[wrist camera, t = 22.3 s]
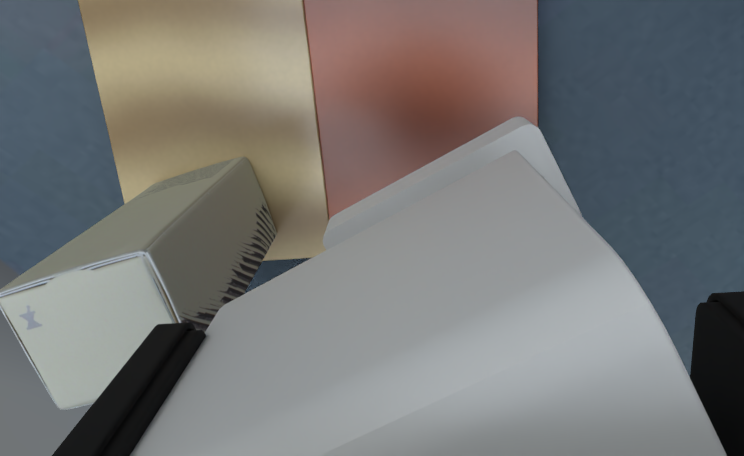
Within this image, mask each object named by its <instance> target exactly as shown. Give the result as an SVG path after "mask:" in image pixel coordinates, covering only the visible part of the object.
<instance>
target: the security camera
mask: <svg viewBox="0 0 744 456" xmlns="http://www.w3.org/2000/svg"><path fill="white" fill-rule="evenodd" d="M323 245H324V247H325V249H326V251H324V252H322V253H320V254H318V255H317V256H315V257H313V258H311V259H309V260H307V261H305V262H303V263H302V264H300V265H298V266H296V267H294V268H292V269H290V270H288V271H287V272H285V273H283V274H281V275H279V276H277V277H275V278H274V279H272V280H270V281H268V282H266V283H264V284H262V285H260V286H259V287H257V288H255V289H253V290H251V291H249V292H247V293H245V294H244V295H242V296H240V297H238V298H236V299H234V300H232V301H230V302H229V303H227V304H225V305H224V306H222V307H221V308H220V309H219V311H218V312H217V314H216V315H215V317H214V319H213V320H212V322H211V324H210V325H209V327H208V328H207V330H206V332H205V334H206V337H205V339H204V340H203V342H202V343H201V345H200V347H199V348H198V350H197V351H196V353H195V354H194V356H193V357H192V359H191V361H190V362H189V364H188V365H187V367H186V368H185V370H184V372H183V373H182V375H181V376H180V378H179V379H178V381H177V382H176V384H175V386H174V387H173V389H172V390H171V392H170V393H169V395H168V397H167V398H166V400H165V401H164V403H163V404H162V406H161V407H160V409H159V411H158V412H157V414H156V415H155V417H154V418H153V420H152V422H151V423H150V425H149V426H148V428H147V429H146V431H145V432H144V434H143V436H142V437H141V439H140V440H139V442H138V443H137V445H136V447H135V448H134V450H133V451H132V453H131V454H130V456H727V455H726V452H725V450H724V448H723V446H722V444H721V442H720V440H719V438H718V436H717V434H716V431H715V429H714V427H713V425H712V423H711V421H710V419H709V417H708V415H707V413H706V411H705V408H704V406H703V404H702V402H701V400H700V398H699V396H698V394H697V392H696V390H695V388H694V385H693V383H692V381H691V379H690V377H689V375H688V373H687V371H686V369H685V367H684V365H683V362H682V360H681V358H680V356H679V354H678V352H677V350H676V348H675V346H674V344H673V342H672V340H671V338H670V336H669V334H668V332H667V330H666V328H665V326H664V325H663V323H662V321H661V319H660V318H659V316H658V314H657V312H656V311H655V309H654V307H653V305H652V304H651V302H650V300H649V299H648V297H647V296H646V294H645V293H644V291H643V289H642V288H641V286H640V285H639V283H638V281H637V280H636V278H635V277H634V276H633V274H632V273H631V271H630V270H629V269H628V267H627V266H626V264H625V263H624V261H623V260H622V259H621V258H620V257H619V255H618V254H617V253H616V252H615V251H614V249H613V248H612V247H611V246H610V245H609V244H608V243H607V242H606V241H605V240H604V239H603V238H602V237H601V236H600V235H599V234H598V233H597V232H596V231H595V230H594V229H593V228H592V227H591V226H590V225H589V224H588V223H587V222H586V221H585V220H584V218H583V217H582V214H581V212H580V210H579V208H578V206H577V204H576V202H575V200H574V198H573V196H572V194H571V192H570V190H569V188H568V186H567V184H566V182H565V180H564V178H563V175H562V173H561V171H560V169H559V167H558V165H557V163H556V161H555V159H554V157H553V155H552V153H551V151H550V149H549V147H548V145H547V143H546V141H545V139H544V137H543V135H542V133H541V131H540V130H539V128H538V127H536V126H535V125H533V124H532V123H531V122H529V121H528V120H526V119H525V118H523V117H514V118H511V119H510V120H508V121H506V122H504V123H502V124H500V125H499V126H497V127H495V128H493V129H491V130H489V131H488V132H486V133H484V134H482V135H480V136H478V137H477V138H475V139H473V140H471V141H469V142H467V143H466V144H464V145H462V146H460V147H458V148H456V149H454V150H453V151H451V152H449V153H447V154H445V155H443V156H442V157H440V158H438V159H436V160H434V161H432V162H431V163H429V164H427V165H425V166H423V167H421V168H420V169H418V170H416V171H414V172H412V173H410V174H409V175H407V176H405V177H403V178H401V179H399V180H398V181H396V182H394V183H392V184H390V185H388V186H387V187H385V188H383V189H381V190H379V191H377V192H376V193H374V194H372V195H370V196H368V197H366V198H365V199H363V200H361V201H359V202H357V203H355V204H353V205H352V206H350V207H348V208H346V209H344V210H342V211H341V212H339V213H337V214H335V215H334V216H332V217H331V218H330V220H329V222H328V225H327V228H326V231H325V234H324V237H323Z"/></svg>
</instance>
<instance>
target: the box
mask: <svg viewBox="0 0 744 456" xmlns="http://www.w3.org/2000/svg"><path fill="white" fill-rule="evenodd" d="M276 235H277V232H276V229H275V226H274V224H273V221H272V218H271V215H270V212H269V209H268V207H267V204H266V201H265V198H264V196H263V193H262V191H261V188H260V186H259V183H258V181H257V178H256V176H255V174H254V171H253V169H252V167H251V164H250V162H249V160H248V159H247V158H246V157H238V158H234V159H231V160H227V161H223V162H220V163H216V164H213V165H210V166H206V167H203V168H200V169H197V170H193V171H190V172H187V173H184V174H181V175H178V176H175V177H172V178H169V179H166V180H163V181H160V182H157V183H155V184H153V185H151V186H150V187H149V188H147V189H146V190H145V191H143V192H142V193H140V194H139V195H137V196H136V197H135V198H133V199H132V200H130V201H129V202H127V203H126V204H125V205H123V206H121V207H120V208H119V209H117V210H116V211H114V212H113V213H111V214H110V215H108V216H107V217H105V218H104V219H102V220H101V221H99V222H98V223H97V224H95V225H94V226H92V227H91V228H89V229H88V230H86V231H85V232H83V233H82V234H80V235H79V236H77V237H76V238H74V239H73V240H71V241H70V242H69V243H67V244H66V245H64V246H63V247H61V248H60V249H58V250H57V251H55V252H54V253H52V254H51V255H49V256H48V257H47V258H45V259H44V260H42V261H41V262H39V263H38V264H36V265H35V266H34V267H32V268H31V269H29V270H28V271H26V272H25V273H23V274H22V275H20V276H19V277H17V278H16V279H14V280H13V281H12V282H10V283H9V284H8V285H6V286H5V287H3V288H2V289H0V309H1V311H2V312H3V314H4V316H5V318H6V319H7V321H8V323H9V324H10V326H11V328H12V330H13V332H14V334H15V335H16V337H17V339H18V341H19V343H20V345H21V346H22V348H23V350H24V352H25V353H26V355H27V357H28V358H29V360H30V362H31V363H32V365H33V367H34V369H35V370H36V372H37V373H38V375H39V377H40V379H41V381H42V382H43V384H44V385H45V387H46V389H47V391H48V393H49V394H50V396H51V398H52V399H53V400H54V402H55V404H56V406H57V407H58V408H59V409H61V410H66V409H71V408H76V407H80V406H84V405H88V404H93V403H94V402H95V401H96V400H97V399H98V397H99V396H100V395H101V394H102V392H103V391H104V390H105V389H106V387H107V386H108V385H109V384H110V382H111V381H112V380H113V379H114V377H115V376H116V375H117V374H118V372H119V371H120V370H121V369H122V367H123V366H124V365H125V364H126V362H127V361H128V360H129V358H130V357H131V356H132V355H133V353H134V352H135V351H136V350H137V348H138V347H139V346H140V345H141V343H142V342H143V341H144V340H145V338H146V337H147V336H148V335H149V333H150V332H151V331H152V330H153V328H154V327H155V326H156V325H158V324H170V323H188V322H191V323H192V324H193V325H194V327H195V328H196V330H203V331H204V333H205V332H206V330H207V328H208V327H209V325H210V324H211V322H212V320H213V319H214V317H215V315H216V314H217V312H218V311H219V309H220V308H221V307H222V306H224V305H225V304H227V303H229V302H230V301H232V300H234V299H236V298H238V297H240V296H242V295H243V294H244V293H245V291H246V289H247V287H248V286H249V284H250V282H251V280H252V279H253V277H254V274H255V273H256V271H257V270H258V267H259V266H260V264H261V263H262V260H263V258H264V257H265V255H266V253H267V252H268V250H269V248H270V246H271V244H272V242H273V241H274V239H275V238H276Z"/></svg>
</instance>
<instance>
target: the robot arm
mask: <svg viewBox="0 0 744 456" xmlns="http://www.w3.org/2000/svg"><path fill="white" fill-rule="evenodd" d="M205 337H206V334H205V333H204V331H203V330H196V328H195V327H194V325H193V324H192V323H191V322H188V323H170V324H158V325H156V326H155V327H154V328H153V330H152V331H151V332H150V333H149V335H148V336H147V337H146V338H145V340H144V341H143V342H142V343H141V345H140V346H139V347H138V348H137V350H136V351H135V352H134V353H133V355H132V356H131V357H130V358H129V360H128V361H127V362H126V364H125V365H124V366H123V367H122V369H121V370H120V371H119V372H118V374H117V375H116V376H115V377H114V379H113V380H112V381H111V382H110V384H109V385H108V386H107V387H106V389H105V390H104V391H103V392H102V394H101V395H100V396H99V397H98V399H97V400H96V401H95V402H94V404H93V405H92V406H91V407H90V409H89V410H88V411H87V412H86V414H85V415H84V416H83V417H82V419H81V420H80V421H79V423H78V424H77V425H76V426H75V427H74V429H73V430H72V431H71V432H70V434H69V435H68V436H67V438H66V439H65V440H64V441H63V442H62V444H61V445H60V446H59V448H58V449H57V450H56V451H55V452H54V454H53V455H52V456H130V454H131V453H132V451H133V450H134V448H135V447H136V445H137V443H138V442H139V440H140V439H141V437H142V436H143V434H144V432H145V431H146V429H147V428H148V426H149V425H150V423H151V422H152V420H153V418H154V417H155V415H156V414H157V412H158V411H159V409H160V407H161V406H162V404H163V403H164V401H165V400H166V398H167V397H168V395H169V393H170V392H171V390H172V389H173V387H174V386H175V384H176V382H177V381H178V379H179V378H180V376H181V375H182V373H183V372H184V370H185V368H186V367H187V365H188V364H189V362H190V361H191V359H192V357H193V356H194V354H195V353H196V351H197V350H198V348H199V347H200V345H201V343H202V342H203V340H204V339H205ZM690 379H691V381H692V383H693V385H694V388H695V390H696V392H697V394H698V396H699V398H700V400H701V402H702V404H703V406H704V408H705V411H706V413H707V415H708V417H709V419H710V421H711V423H712V425H713V427H714V429H715V431H716V434H717V436H718V438H719V440H720V442H721V444H722V446H723V448H724V450H725V452H726V455H727V456H744V292H728V293H712V294H711V295H710V296H709V298H708V300H707V302H706V303H700V304H699V305H698V307H697V310H696V317H695V329H694V340H693V351H692V363H691V374H690Z"/></svg>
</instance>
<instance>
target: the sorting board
mask: <svg viewBox="0 0 744 456" xmlns="http://www.w3.org/2000/svg"><path fill="white" fill-rule="evenodd" d="M78 3H79V7H80V12H81V16H82V20H83V25H84V29H85V33H86V38H87V42H88V46H89V51H90V55H91V59H92V64H93V68H94V72H95V77H96V81H97V85H98V90H99V94H100V98H101V103H102V107H103V112H104V116H105V120H106V125H107V129H108V133H109V138H110V142H111V146H112V151H113V155H114V159H115V164H116V168H117V172H118V177H119V181H120V185H121V190H122V194H123V198H124V203H125V204H126V203H127V202H129V201H130V200H132V199H133V198H135V197H136V196H137V195H139V194H140V193H142V192H143V191H145V190H146V189H147V188H149V187H150V186H151V185H153V184H155V183H157V182H160V181H163V180H166V179H169V178H172V177H175V176H178V175H181V174H184V173H187V172H190V171H193V170H197V169H200V168H203V167H206V166H210V165H213V164H216V163H220V162H223V161H227V160H231V159H234V158H238V157H246V158H247V159H248V160H249V162H250V164H251V167H252V169H253V171H254V174H255V176H256V178H257V181H258V183H259V186H260V188H261V191H262V193H263V196H264V198H265V201H266V204H267V207H268V209H269V212H270V215H271V218H272V221H273V224H274V226H275V229H276V232H277V235H276V238H275V239H274V241H273V242H272V244H271V246H270V248H269V250H268V252H267V253H266V255H265V257H264V258H263V260H262V261H267V260H283V259H300V258H313V257H315V256H317V255H318V254H320V253H322V252H324V251H326V249H325V247H324V245H323V237H324V234H325V231H326V228H327V225H328V222H329V220H330V218H331V217H332V216H334V215H335V214H337V213H339V212H341V211H342V210H344V209H346V208H348V207H350V206H352V205H353V204H355V203H357V202H359V201H361V200H363V199H365V198H366V197H368V196H370V195H372V194H374V193H376V192H377V191H379V190H381V189H383V188H385V187H387V186H388V185H390V184H392V183H394V182H396V181H398V180H399V179H401V178H403V177H405V176H407V175H409V174H410V173H412V172H414V171H416V170H418V169H420V168H421V167H423V166H425V165H427V164H429V163H431V162H432V161H434V160H436V159H438V158H440V157H442V156H443V155H445V154H447V153H449V152H451V151H453V150H454V149H456V148H458V147H460V146H462V145H464V144H466V143H467V142H469V141H471V140H473V139H475V138H477V137H478V136H480V135H482V134H484V133H486V132H488V131H489V130H491V129H493V128H495V127H497V126H499V125H500V124H502V123H504V122H506V121H508V120H510V119H511V118H514V117H523V118H525V119H526V120H528V121H529V122H531V123H532V124H533V125H535V126H536V127H538V0H78Z"/></svg>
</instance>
